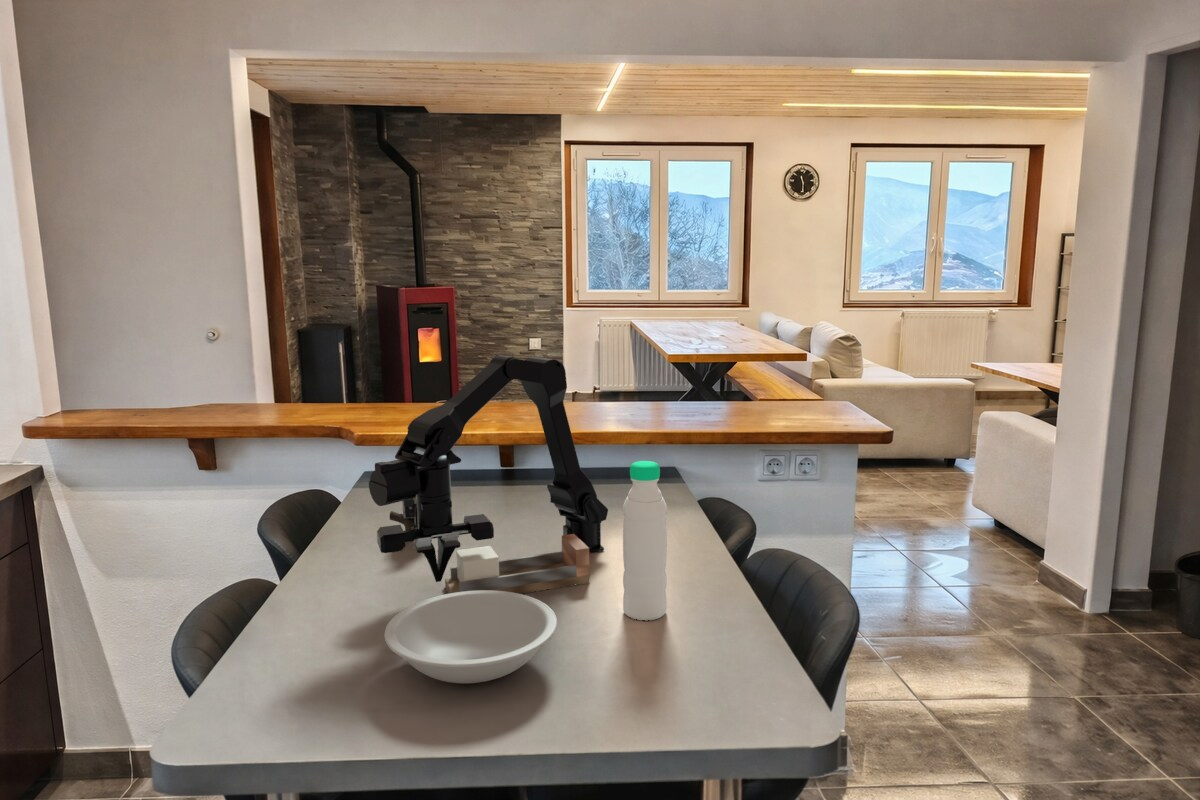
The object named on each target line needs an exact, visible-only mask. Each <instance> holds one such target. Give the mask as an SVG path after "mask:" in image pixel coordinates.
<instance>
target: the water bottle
mask: <svg viewBox="0 0 1200 800" xmlns="http://www.w3.org/2000/svg"><path fill="white" fill-rule="evenodd" d="M660 476H661V469H660V465H659V464H658V463H657V462H655V461H652V460H651V461H650V460H638V461H634V462H633V463H631V465H630V467H629V478H630V481H631V482H632V486H631V488H630V489H629V491H628V494H627V496H626V498H625V500H624V503H623V505H622V513H623V514H622V515H623V526H622V528H623V530H622V553H623V554H622V556H623V557H622V559H623V569H624V570H623V574H622V584H623V597H622V598H623V599H622V609H623V612H624V614H625V615H626V616H627V617H628V618H630V617H631V618H630V619H632V620H636V619H637V621H642V620H645V621H646V622H647V621H648V620H649V621H655V620H658V619H661V618H662V617H663V616H665V615H666V613H667V609H668V604H667V603H668V601H667V600H668V599H667V591H666V590H667V583H668V582H667V579H668V578H667V571H666V567H667V556H668V555H667V554H668V550H667V549H668V532H667V531H668V529H667V517H666V516H667V515H668V505H667V503H666V501H665V498H664V497H663V495H662V491H661V489H660V488H659V487H658V481H660ZM645 621H644V622H645Z"/></svg>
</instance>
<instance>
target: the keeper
mask: <svg viewBox="0 0 1200 800" xmlns="http://www.w3.org/2000/svg"><path fill="white" fill-rule="evenodd" d="M455 550H456V549H455ZM499 558H500V557H499V556H498V554H497V552H496V551H495V550H494V549H493V547H492V546H491V545H486V546H479V547H470V548H463V549H457V550H456V567H457V578H458V579H459V581H460V582H464V581H471V580H477V579H484V578H491V577H497V576H499V560H500V559H499Z"/></svg>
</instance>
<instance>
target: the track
mask: <svg viewBox="0 0 1200 800" xmlns="http://www.w3.org/2000/svg"><path fill="white" fill-rule="evenodd" d="M449 570H450V577H449V578H448V577H447V578H445V579H444V584H445V585H444V586H445V589H446V591H447V594H450V593H456V592H464V591H477V590H493V591H506V592H513V593H518V594H522V593H524V594H528V593H527V592H530V593H535V592H534V591H536V592H541V591H540V590H543V591H547V590H546V589H549V590H554V588H555V589H560V587H562V588H567V587H566V586H568V587H572V586H571V585H574V586H576V585H575V584H580V585H584V584H583V583H587V584H590V583H591V582H590V552H589V547H588V546H586V545H585V544H584V543H583V542H582V541H581V540H580V539H579V538H578V537H577V536H576V535H575V534H570V535H563V534H562V535H561V551H556V552H555V551H554V552H549V553H542V554H534V555H529V556H520V557H514V558H507V559H501V560H500V559H499V576H497V577H491V578H484V579H477V580H471V581H464V582H460V581H459V579H458V578H457V566H450V569H449ZM522 595H523V594H522Z"/></svg>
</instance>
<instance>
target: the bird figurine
mask: <svg viewBox="0 0 1200 800" xmlns="http://www.w3.org/2000/svg"><path fill="white" fill-rule="evenodd" d="M412 499H414V502H415V504H416V503H417V500H416V496H415V497H414V498H412ZM408 500H409V499H408ZM389 520H390V521H393V522H396V523H397V522H398V523H400V525H401V524H402V525H403V526H404V531H405V530H412V528H414V529H418V526H416V525H415V518H406V519H404V516H403V513H399V512H395V511H394V510H393V511H392V510H391V511H390V512H389Z"/></svg>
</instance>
